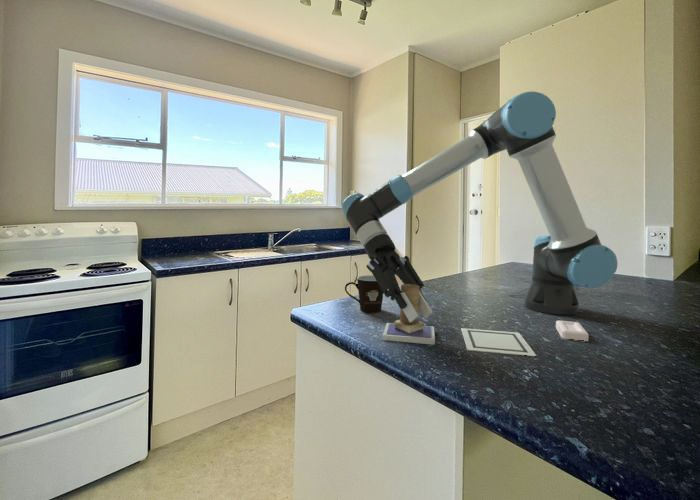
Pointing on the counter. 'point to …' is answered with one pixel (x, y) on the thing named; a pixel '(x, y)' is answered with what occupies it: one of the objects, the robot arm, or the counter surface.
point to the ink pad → (419, 337)
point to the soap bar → (571, 330)
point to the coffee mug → (368, 294)
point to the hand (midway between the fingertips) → (421, 317)
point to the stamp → (413, 297)
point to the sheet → (496, 342)
